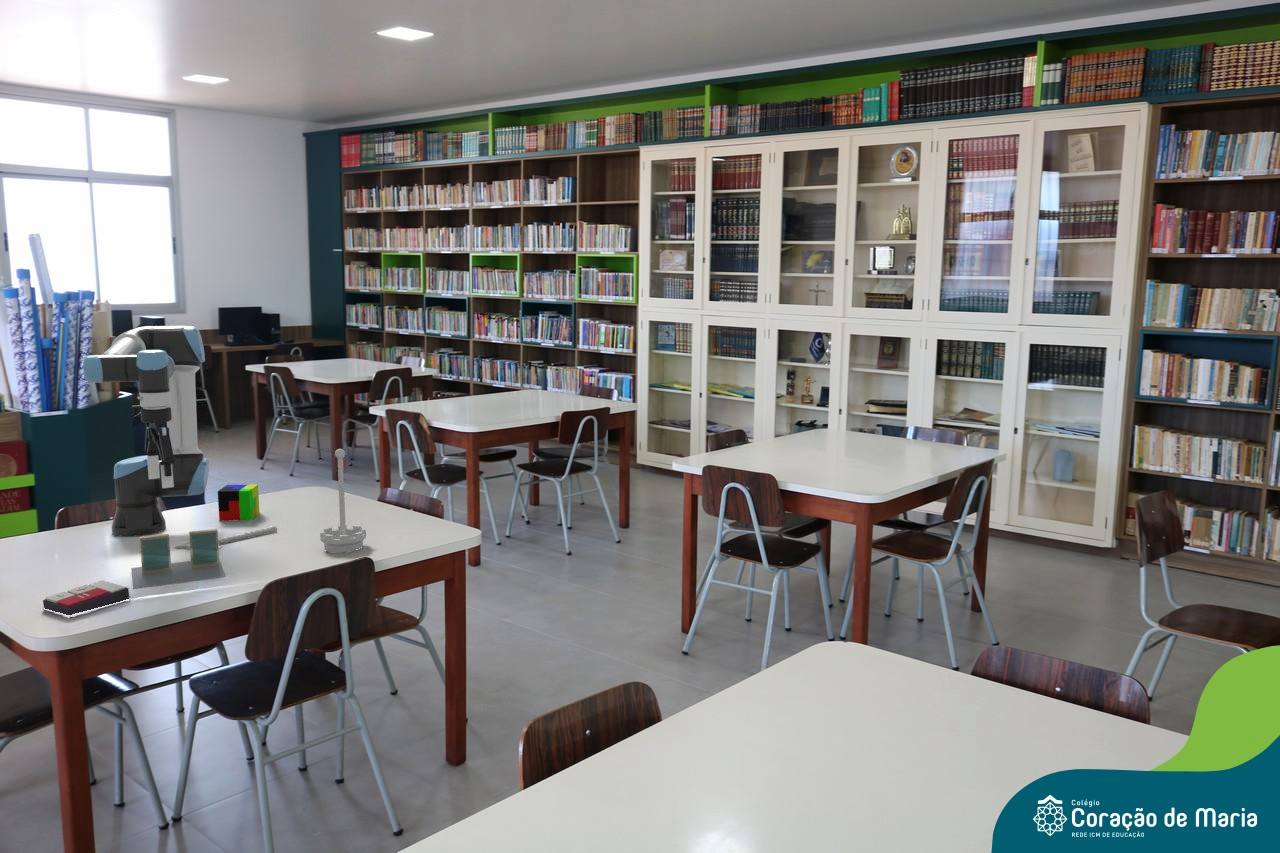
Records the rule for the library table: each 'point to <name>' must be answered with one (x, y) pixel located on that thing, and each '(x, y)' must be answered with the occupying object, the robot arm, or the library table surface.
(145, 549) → the tile
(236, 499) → the puzzle toy
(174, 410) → the robot arm
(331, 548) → the flag stand
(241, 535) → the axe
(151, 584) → the mat
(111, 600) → the black red flat box
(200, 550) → the tile
